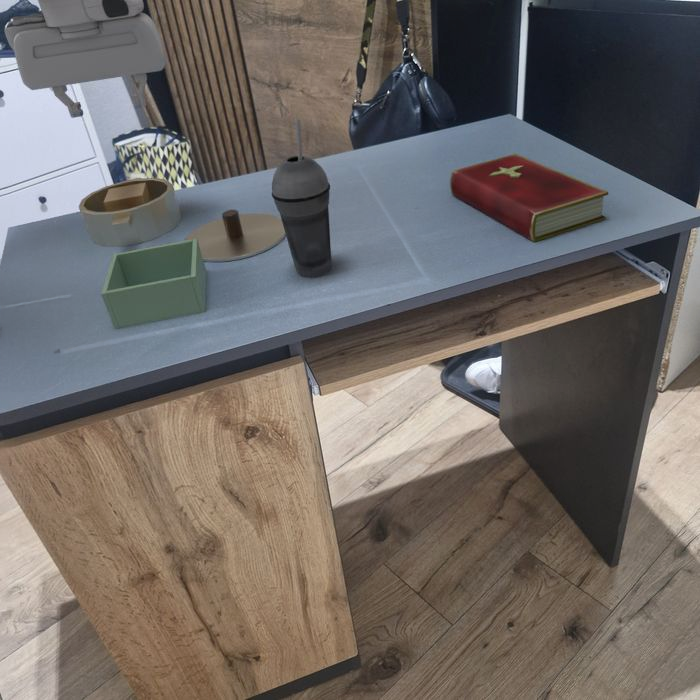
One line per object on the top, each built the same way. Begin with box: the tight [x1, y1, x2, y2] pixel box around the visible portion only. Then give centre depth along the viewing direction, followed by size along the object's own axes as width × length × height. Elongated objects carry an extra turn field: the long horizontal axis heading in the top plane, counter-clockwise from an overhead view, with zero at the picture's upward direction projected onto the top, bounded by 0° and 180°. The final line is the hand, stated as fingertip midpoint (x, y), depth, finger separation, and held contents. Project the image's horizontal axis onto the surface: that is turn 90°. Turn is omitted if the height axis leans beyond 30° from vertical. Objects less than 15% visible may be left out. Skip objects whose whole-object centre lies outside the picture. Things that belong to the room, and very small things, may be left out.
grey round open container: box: [78, 177, 182, 248], centre depth 103 cm, size 15×20×6 cm
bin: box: [100, 239, 207, 330], centre depth 82 cm, size 11×11×6 cm
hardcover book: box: [449, 153, 609, 243], centre depth 93 cm, size 12×21×4 cm, turn 23°
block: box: [104, 183, 151, 212], centre depth 103 cm, size 6×6×6 cm
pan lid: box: [184, 209, 286, 263], centre depth 95 cm, size 16×16×5 cm
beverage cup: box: [271, 119, 332, 279], centre depth 79 cm, size 7×7×20 cm
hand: (109, 111), depth 95 cm, fingers open, 8 cm apart
